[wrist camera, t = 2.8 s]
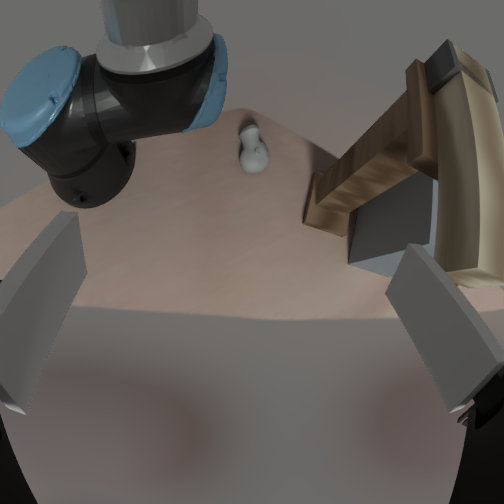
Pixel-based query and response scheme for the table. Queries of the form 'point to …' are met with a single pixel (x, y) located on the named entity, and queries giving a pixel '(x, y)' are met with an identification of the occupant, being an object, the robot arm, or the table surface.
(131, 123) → the robot arm
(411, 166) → the walnut stand
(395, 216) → the grey block
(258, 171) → the smooth white sculpture
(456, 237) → the pale wooden bar
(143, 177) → the table surface
